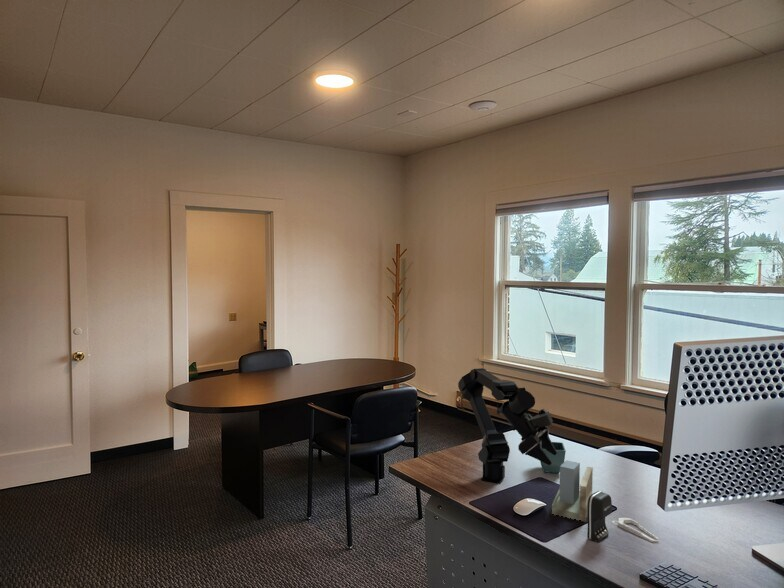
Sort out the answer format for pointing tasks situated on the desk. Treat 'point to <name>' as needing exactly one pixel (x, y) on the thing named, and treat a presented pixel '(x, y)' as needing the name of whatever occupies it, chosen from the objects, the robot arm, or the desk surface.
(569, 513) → the cream open holder
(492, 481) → the robot arm
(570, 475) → the cabinet block
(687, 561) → the desk surface
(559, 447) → the flower pot
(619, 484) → the desk surface
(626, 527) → the white looped flat piece
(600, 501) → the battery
